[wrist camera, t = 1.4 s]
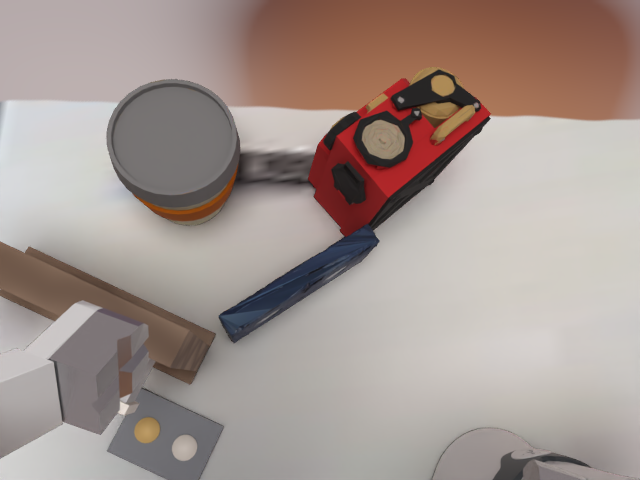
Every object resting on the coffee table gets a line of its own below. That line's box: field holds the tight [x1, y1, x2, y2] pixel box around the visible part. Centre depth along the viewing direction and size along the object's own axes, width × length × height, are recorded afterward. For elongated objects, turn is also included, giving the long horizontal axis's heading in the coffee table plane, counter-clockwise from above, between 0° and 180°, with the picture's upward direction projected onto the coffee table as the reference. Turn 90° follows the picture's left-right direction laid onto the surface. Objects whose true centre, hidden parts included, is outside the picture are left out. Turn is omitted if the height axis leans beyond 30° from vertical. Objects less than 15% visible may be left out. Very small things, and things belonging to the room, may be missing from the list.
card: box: [107, 388, 224, 480], centre depth 56 cm, size 7×10×1 cm
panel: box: [0, 242, 216, 384], centre depth 48 cm, size 6×23×21 cm, turn 66°
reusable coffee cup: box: [107, 79, 240, 225], centre depth 56 cm, size 13×12×15 cm
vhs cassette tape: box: [219, 224, 380, 343], centre depth 57 cm, size 18×3×10 cm, turn 122°
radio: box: [308, 67, 491, 237], centre depth 57 cm, size 16×10×20 cm, turn 131°
